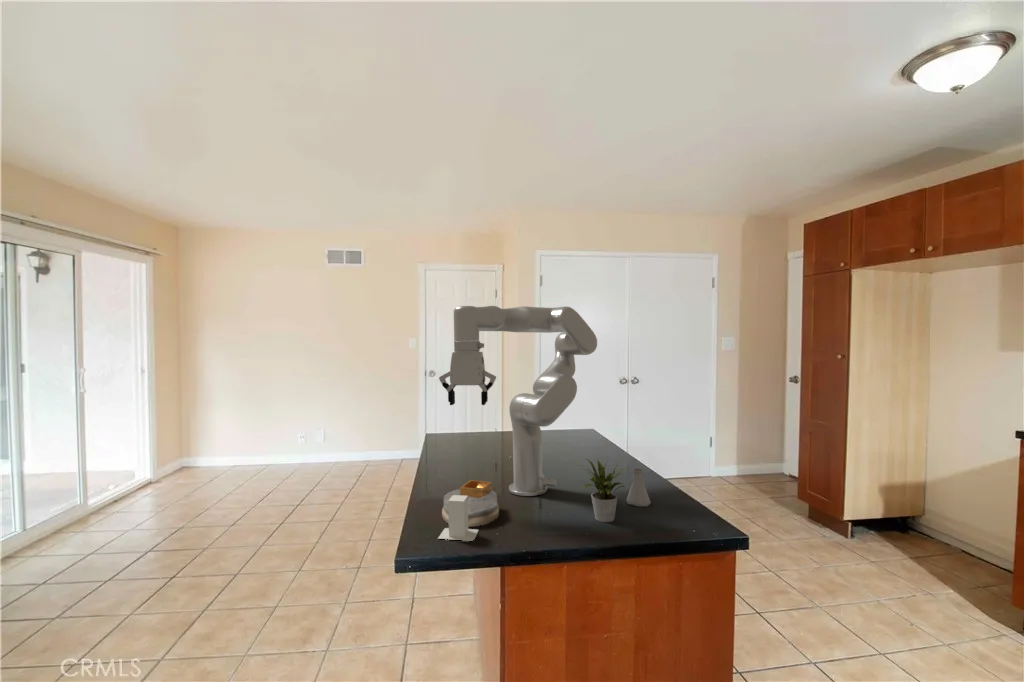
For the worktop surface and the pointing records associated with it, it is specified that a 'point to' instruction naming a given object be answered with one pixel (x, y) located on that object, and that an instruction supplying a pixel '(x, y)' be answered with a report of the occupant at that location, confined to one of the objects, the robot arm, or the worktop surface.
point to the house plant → (603, 493)
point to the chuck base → (476, 518)
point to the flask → (638, 490)
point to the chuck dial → (475, 498)
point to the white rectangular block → (458, 516)
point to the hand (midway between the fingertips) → (468, 404)
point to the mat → (469, 537)
